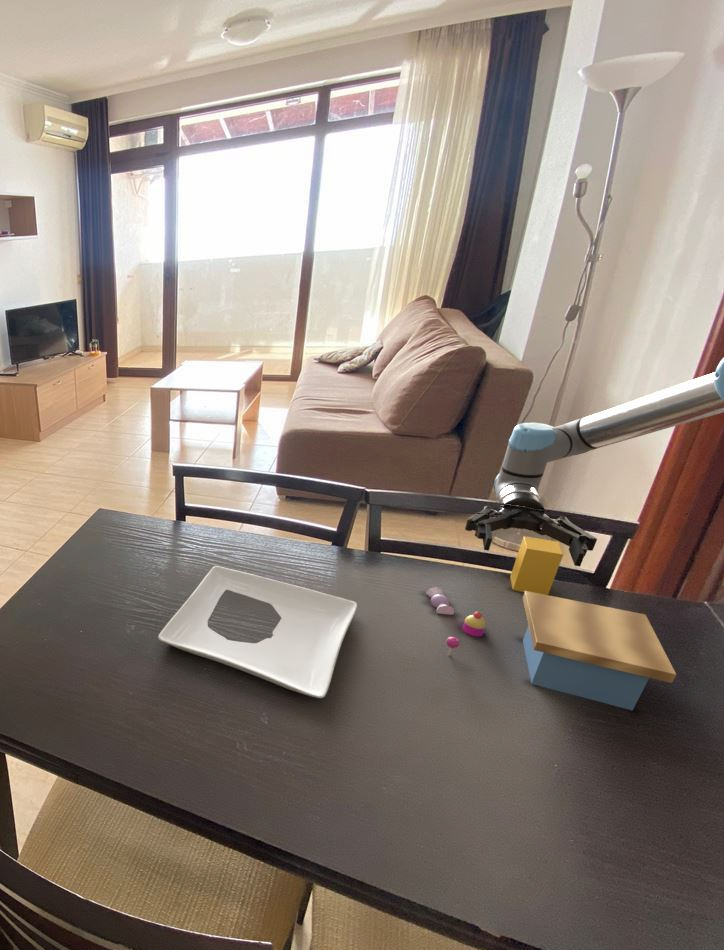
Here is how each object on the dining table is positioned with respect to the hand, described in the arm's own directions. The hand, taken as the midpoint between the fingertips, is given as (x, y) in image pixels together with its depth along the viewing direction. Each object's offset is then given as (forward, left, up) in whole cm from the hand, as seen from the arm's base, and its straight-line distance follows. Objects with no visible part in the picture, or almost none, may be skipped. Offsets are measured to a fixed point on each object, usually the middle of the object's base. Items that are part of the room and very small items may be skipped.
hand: (532, 552), depth 103 cm
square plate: (+41, +40, -6) cm, 57 cm away
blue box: (-3, +29, -6) cm, 29 cm away
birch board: (-3, +29, +2) cm, 29 cm away
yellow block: (0, +5, -6) cm, 8 cm away
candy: (+12, +24, -6) cm, 27 cm away
